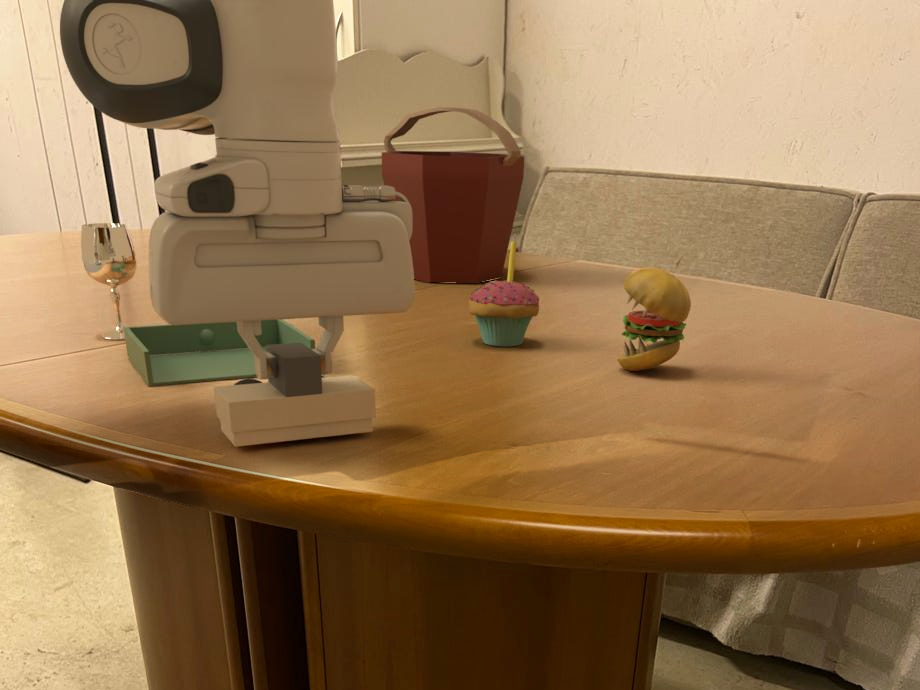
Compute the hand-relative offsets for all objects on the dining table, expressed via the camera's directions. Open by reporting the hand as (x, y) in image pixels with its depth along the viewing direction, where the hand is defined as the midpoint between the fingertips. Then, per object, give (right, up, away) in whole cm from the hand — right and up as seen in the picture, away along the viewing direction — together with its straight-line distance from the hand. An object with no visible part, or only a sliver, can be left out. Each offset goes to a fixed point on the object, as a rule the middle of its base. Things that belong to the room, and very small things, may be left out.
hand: (293, 375), depth 75 cm
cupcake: (+18, +14, +38) cm, 44 cm away
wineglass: (-27, +14, +35) cm, 47 cm away
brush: (0, -4, +2) cm, 5 cm away
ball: (-4, -1, +4) cm, 6 cm away
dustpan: (-15, +10, +27) cm, 33 cm away
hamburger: (+34, +8, +27) cm, 44 cm away
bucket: (+10, +41, +84) cm, 94 cm away
